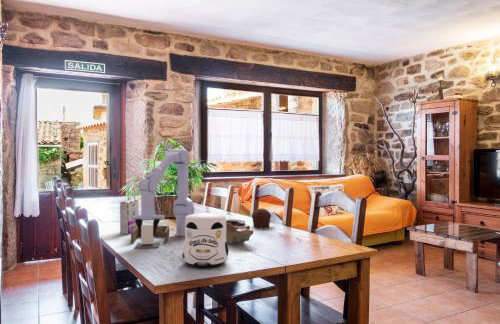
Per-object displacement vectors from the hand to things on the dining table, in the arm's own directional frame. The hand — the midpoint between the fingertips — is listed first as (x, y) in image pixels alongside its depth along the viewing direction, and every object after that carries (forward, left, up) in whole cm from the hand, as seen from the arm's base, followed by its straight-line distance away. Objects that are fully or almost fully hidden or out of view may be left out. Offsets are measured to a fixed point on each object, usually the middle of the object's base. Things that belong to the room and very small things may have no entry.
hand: (147, 236), depth 177 cm
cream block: (0, 0, -3) cm, 3 cm away
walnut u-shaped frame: (0, -13, -4) cm, 14 cm away
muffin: (-58, -41, -5) cm, 71 cm away
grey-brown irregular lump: (-41, -3, -5) cm, 41 cm away
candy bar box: (+13, -31, -5) cm, 34 cm away
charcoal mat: (0, 0, -4) cm, 4 cm away
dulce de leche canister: (-25, +30, -5) cm, 39 cm away
